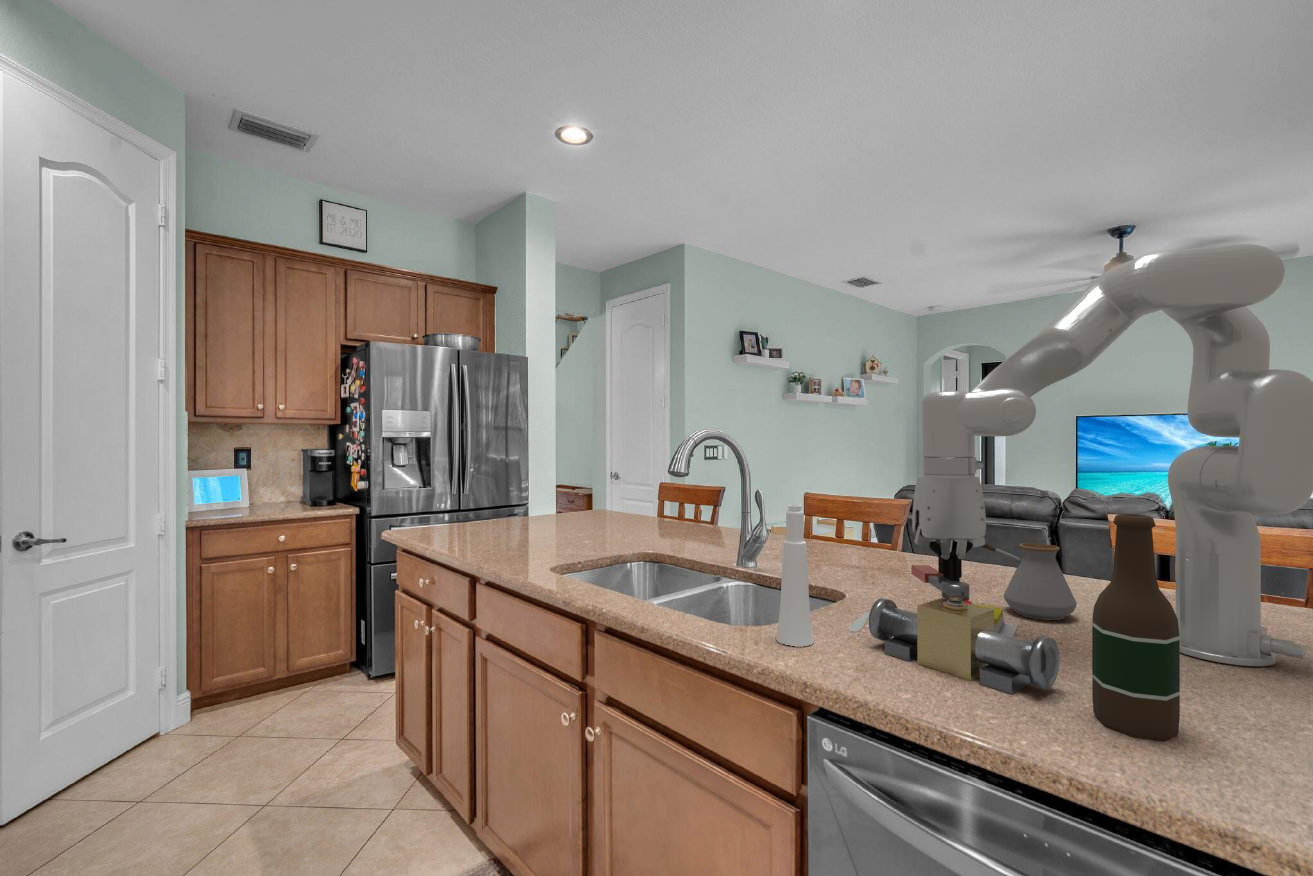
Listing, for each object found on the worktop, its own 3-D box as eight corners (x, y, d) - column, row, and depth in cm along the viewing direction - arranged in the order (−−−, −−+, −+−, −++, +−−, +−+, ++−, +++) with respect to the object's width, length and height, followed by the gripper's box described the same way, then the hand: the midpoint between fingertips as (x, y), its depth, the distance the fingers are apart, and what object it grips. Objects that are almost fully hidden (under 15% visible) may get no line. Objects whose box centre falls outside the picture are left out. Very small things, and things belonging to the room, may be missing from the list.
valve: (1060, 688, 78) (1060, 615, 78) (1037, 702, 74) (1037, 625, 74) (892, 639, 97) (892, 581, 97) (867, 648, 93) (867, 587, 93)
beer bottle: (1075, 710, 71) (1075, 511, 72) (1135, 708, 72) (1135, 510, 72) (1132, 743, 64) (1132, 519, 64) (1199, 740, 64) (1199, 519, 64)
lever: (931, 574, 100) (931, 562, 100) (973, 601, 83) (973, 587, 83) (909, 574, 100) (908, 562, 100) (947, 600, 84) (947, 586, 84)
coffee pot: (1072, 611, 113) (1072, 532, 113) (1081, 627, 103) (1081, 541, 103) (947, 597, 123) (947, 524, 123) (944, 610, 113) (944, 532, 113)
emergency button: (926, 590, 114) (1018, 603, 105) (926, 613, 114) (1018, 628, 105) (914, 600, 106) (1012, 615, 97) (914, 625, 106) (1012, 642, 97)
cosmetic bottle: (803, 633, 100) (803, 502, 100) (820, 645, 94) (820, 506, 94) (769, 636, 99) (769, 503, 99) (785, 648, 93) (785, 507, 93)
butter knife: (840, 628, 102) (858, 630, 100) (872, 595, 125) (887, 596, 124) (840, 632, 102) (858, 634, 100) (872, 598, 125) (887, 599, 124)
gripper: (983, 466, 99) (985, 577, 99) (893, 467, 100) (894, 577, 99) (1008, 469, 91) (1010, 588, 91) (910, 470, 92) (912, 588, 92)
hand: (950, 582), depth 95 cm, fingers closed
